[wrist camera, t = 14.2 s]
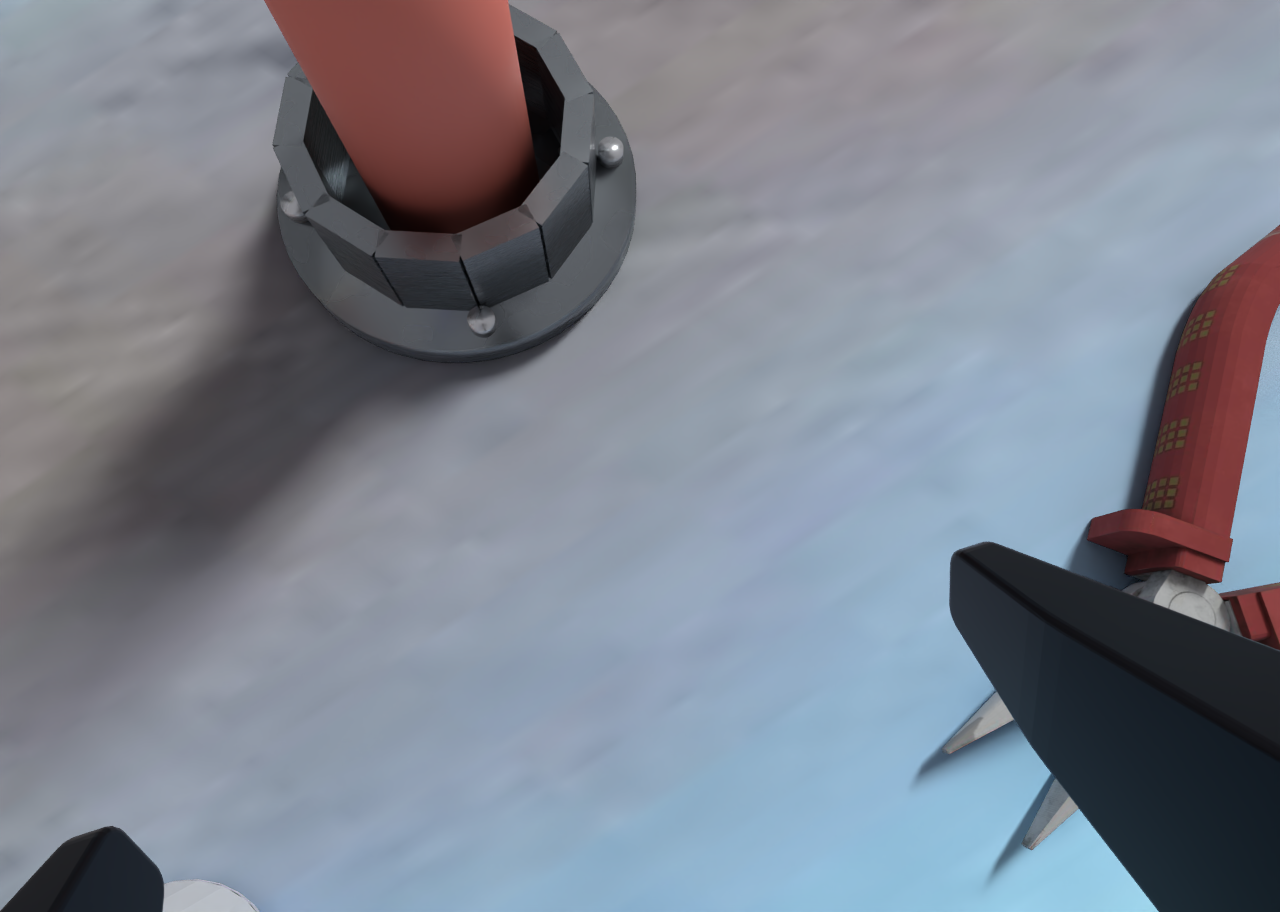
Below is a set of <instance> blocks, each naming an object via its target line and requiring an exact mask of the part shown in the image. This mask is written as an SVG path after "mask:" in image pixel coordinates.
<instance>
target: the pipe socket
mask: <svg viewBox="0 0 1280 912" xmlns="http://www.w3.org/2000/svg"><path fill="white" fill-rule="evenodd" d="M509 10H510V16H511V21H512V27H513V33H514V38H515V44H516V50H517V55H518V61H519V67H520V73H521V78H522V84H523V90H524V95H525V101H526V107H527V112H528V118H529V124H530V130H531V135H532V141H533V147H534V152H535V158H536V164H537V169H538V175H539V183H538V184H537V186H536V187H535V188H534V190H533V191H532V192H531V193H530V195H529V196H528V197H527V199H526V200H525V201H524V202H523V204H522V205H521V206H520V207H517V208H515V209H513V210H510V211H508V212H506V213H503V214H501V215H499V216H497V217H494V218H492V219H490V220H487V221H485V222H483V223H480V224H478V225H476V226H473V227H471V228H469V229H467V230H464V231H462V232H460V233H457V234H447V233H428V232H410V231H391V230H390V228H389V226H388V224H387V223H386V221H385V219H384V217H383V216H382V214H381V212H380V210H379V208H378V207H377V205H376V203H375V201H374V199H373V197H372V196H371V194H370V192H369V190H368V188H367V187H366V185H365V183H364V181H363V179H362V177H361V176H360V174H359V172H358V170H357V168H356V167H355V165H354V163H353V161H352V159H351V157H350V156H349V154H348V152H347V150H346V148H345V147H344V145H343V143H342V141H341V139H340V137H339V136H338V134H337V132H336V130H335V128H334V126H333V125H332V123H331V121H330V119H329V117H328V116H327V114H326V112H325V110H324V108H323V106H322V105H321V103H320V101H319V99H318V97H317V96H316V94H315V92H314V90H313V88H312V86H311V85H310V83H309V81H308V79H307V77H306V76H305V74H304V72H303V70H302V68H301V66H300V65H299V63H297V64H296V65H295V66H294V67H293V68H292V69H291V70H290V72H289V73H288V76H289V77H286V78H285V83H284V89H283V94H282V99H281V104H280V109H279V114H278V119H277V124H276V129H275V135H274V140H273V146H274V148H273V149H274V151H275V154H276V156H277V158H278V160H279V162H280V165H281V170H280V173H279V181H278V190H277V212H278V220H279V225H280V231H281V236H282V239H283V242H284V244H285V247H286V250H287V253H288V255H289V258H290V259H291V261H292V263H293V265H294V267H295V269H296V270H297V272H298V274H299V276H300V277H301V278H302V280H303V281H304V282H305V284H306V285H307V286H308V288H309V289H310V290H311V292H312V293H313V294H314V295H315V296H316V297H317V299H318V300H319V301H320V302H321V303H322V304H323V306H324V307H325V308H326V309H327V310H328V311H329V312H330V313H331V314H332V315H333V316H334V317H335V318H336V319H337V320H338V321H339V322H340V323H342V324H343V325H345V326H346V327H347V328H349V329H350V330H351V331H353V332H354V333H355V334H357V335H358V336H360V337H362V338H364V339H365V340H367V341H369V342H371V343H373V344H375V345H377V346H379V347H381V348H384V349H386V350H389V351H392V352H394V353H397V354H400V355H404V356H408V357H412V358H416V359H420V360H427V361H435V362H444V363H462V362H477V361H484V360H492V359H496V358H500V357H504V356H508V355H512V354H516V353H519V352H521V351H524V350H526V349H529V348H531V347H534V346H537V345H539V344H541V343H543V342H544V341H546V340H548V339H550V338H552V337H554V336H556V335H557V334H559V333H561V332H562V331H563V330H565V329H566V328H568V327H569V326H570V325H572V324H573V323H575V322H576V321H577V320H579V319H580V318H581V317H582V316H583V315H584V314H585V313H586V312H587V311H588V310H589V309H590V308H591V307H593V306H594V305H595V303H596V302H597V301H598V300H599V298H600V297H601V296H602V295H603V294H604V292H605V291H606V290H607V289H608V287H609V286H610V284H611V283H612V281H613V279H614V278H615V276H616V274H617V273H618V271H619V269H620V267H621V265H622V263H623V260H624V258H625V256H626V254H627V251H628V248H629V244H630V241H631V237H632V234H633V228H634V220H635V212H636V172H635V167H634V161H633V155H632V151H631V148H630V145H629V142H628V139H627V136H626V134H625V132H624V130H623V128H622V126H621V124H620V122H619V120H618V118H617V116H616V115H615V113H614V112H613V110H612V109H611V107H610V106H609V104H608V103H607V102H606V100H605V99H604V98H603V97H602V96H601V95H600V94H599V92H598V91H597V90H596V89H595V88H594V87H593V86H592V85H591V84H590V83H589V82H587V80H586V78H585V77H584V75H583V73H582V72H581V70H580V68H579V66H578V65H577V63H576V61H575V60H574V58H573V56H572V55H571V53H570V51H569V49H568V48H567V46H566V44H565V43H564V41H563V39H562V38H561V36H560V34H559V33H558V34H557V31H556V30H554V29H552V28H551V27H549V26H547V25H545V24H543V23H542V22H540V21H538V20H536V19H534V18H533V17H531V16H529V15H527V14H525V13H524V12H522V11H520V10H518V9H516V8H515V7H513V6H511V5H509Z"/></svg>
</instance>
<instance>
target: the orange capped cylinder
mask: <svg viewBox="0 0 1280 912" xmlns="http://www.w3.org/2000/svg"><path fill="white" fill-rule="evenodd" d="M264 1H265V3H266V5H267V6H268V8H269V10H270V12H271V14H272V16H273V17H274V19H275V21H276V23H277V25H278V26H279V28H280V30H281V32H282V34H283V36H284V37H285V39H286V41H287V43H288V45H289V46H290V48H291V50H292V52H293V54H294V56H295V57H296V59H297V61H298V63H299V65H300V66H301V68H302V70H303V72H304V74H305V76H306V77H307V79H308V81H309V83H310V85H311V86H312V88H313V90H314V92H315V94H316V96H317V97H318V99H319V101H320V103H321V105H322V106H323V108H324V110H325V112H326V114H327V116H328V117H329V119H330V121H331V123H332V125H333V126H334V128H335V130H336V132H337V134H338V136H339V137H340V139H341V141H342V143H343V145H344V147H345V148H346V150H347V152H348V154H349V156H350V157H351V159H352V161H353V163H354V165H355V167H356V168H357V170H358V172H359V174H360V176H361V177H362V179H363V181H364V183H365V185H366V187H367V188H368V190H369V192H370V194H371V196H372V197H373V199H374V201H375V203H376V205H377V207H378V208H379V210H380V212H381V214H382V216H383V217H384V219H385V221H386V223H387V224H388V226H389V228H390V230H391V231H410V232H428V233H447V234H457V233H460V232H462V231H464V230H467V229H469V228H471V227H473V226H476V225H478V224H480V223H483V222H485V221H487V220H490V219H492V218H494V217H497V216H499V215H501V214H503V213H506V212H508V211H510V210H513V209H515V208H517V207H520V206H521V205H522V204H523V202H524V201H525V200H526V199H527V197H528V196H529V195H530V193H531V192H532V191H533V190H534V188H535V187H536V186H537V184H538V183H539V175H538V169H537V164H536V158H535V152H534V147H533V141H532V135H531V130H530V124H529V118H528V112H527V107H526V101H525V95H524V90H523V84H522V78H521V73H520V67H519V61H518V55H517V50H516V44H515V38H514V33H513V27H512V21H511V16H510V10H509V4H508V0H264Z"/></svg>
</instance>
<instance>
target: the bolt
mask: <svg viewBox="0 0 1280 912" xmlns="http://www.w3.org/2000/svg"><path fill="white" fill-rule="evenodd" d="M163 912H260V911H259V910H258V909H257V907H256V906H255V905H254V904H253V903H251V902H250V901H249V900H248V899H247V898H245V897H244V896H243V895H242V894H241V893H239V892H237V891H235V890H233V889H231V888H229V887H227V886H225V885H223V884H221V883H216V882H211V881H205V880H200V879H193V880H180V881H172V882H169V883H166V884H164V903H163Z"/></svg>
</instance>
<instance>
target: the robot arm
mask: <svg viewBox="0 0 1280 912" xmlns="http://www.w3.org/2000/svg"><path fill="white" fill-rule="evenodd" d="M949 605H950V612H951V615H952V618H953V621H954V623H955V625H956V627H957V629H958V630H959V632H960V633H961V635H962V637H963V638H964V640H965V642H966V643H967V645H968V646H969V648H970V650H971V651H972V653H973V654H974V656H975V658H976V659H977V661H978V662H979V664H980V666H981V667H982V669H983V670H984V672H985V674H986V675H987V677H988V679H989V680H990V682H991V683H992V685H993V687H994V688H995V690H996V691H997V693H998V695H999V696H1000V698H1001V699H1002V701H1003V703H1004V704H1005V706H1006V708H1007V709H1008V711H1009V712H1010V714H1011V716H1012V717H1013V719H1014V720H1015V722H1016V724H1017V725H1018V727H1019V728H1020V730H1021V731H1022V733H1023V734H1024V736H1025V737H1026V739H1027V740H1028V742H1029V743H1030V745H1031V746H1032V748H1033V749H1034V750H1035V752H1036V753H1037V754H1038V756H1039V757H1040V759H1041V760H1042V761H1043V763H1044V764H1045V765H1046V767H1047V768H1048V769H1049V770H1050V772H1051V773H1052V774H1053V776H1054V777H1055V778H1056V780H1057V781H1058V782H1059V783H1060V785H1061V786H1062V787H1063V789H1064V790H1065V791H1066V792H1067V794H1068V795H1069V796H1070V798H1071V799H1072V800H1073V801H1074V803H1075V804H1076V805H1077V807H1078V808H1079V809H1080V811H1081V812H1082V813H1083V814H1084V816H1085V817H1086V818H1087V820H1088V821H1089V822H1090V823H1091V825H1092V826H1093V827H1094V829H1095V830H1096V831H1097V832H1098V834H1099V835H1100V836H1101V838H1102V839H1103V840H1104V842H1105V843H1106V844H1107V845H1108V847H1109V848H1110V849H1111V851H1112V852H1113V853H1114V854H1115V856H1116V857H1117V858H1118V860H1119V861H1120V862H1121V863H1122V865H1123V866H1124V867H1125V869H1126V870H1127V871H1128V873H1129V874H1130V875H1131V876H1132V878H1133V879H1134V880H1135V882H1136V883H1137V884H1138V885H1139V887H1140V888H1141V889H1142V891H1143V892H1144V893H1145V894H1146V896H1147V897H1148V898H1149V900H1150V901H1151V902H1152V903H1153V905H1154V906H1155V907H1156V909H1157V910H1158V911H1159V912H1280V650H1277V649H1274V648H1272V647H1269V646H1266V645H1264V644H1261V643H1258V642H1256V641H1253V640H1250V639H1248V638H1245V637H1243V636H1240V635H1237V634H1235V633H1232V632H1229V631H1227V630H1224V629H1221V628H1219V627H1216V626H1213V625H1211V624H1208V623H1206V622H1203V621H1200V620H1198V619H1195V618H1192V617H1190V616H1187V615H1184V614H1182V613H1179V612H1176V611H1174V610H1171V609H1169V608H1166V607H1163V606H1161V605H1158V604H1155V603H1153V602H1150V601H1147V600H1145V599H1142V598H1139V597H1137V596H1134V595H1132V594H1129V593H1126V592H1124V591H1121V590H1118V589H1116V588H1113V587H1110V586H1108V585H1105V584H1102V583H1100V582H1097V581H1095V580H1092V579H1089V578H1087V577H1084V576H1081V575H1079V574H1076V573H1073V572H1071V571H1068V570H1065V569H1063V568H1060V567H1058V566H1055V565H1052V564H1050V563H1047V562H1044V561H1042V560H1039V559H1036V558H1034V557H1031V556H1028V555H1026V554H1023V553H1021V552H1018V551H1015V550H1013V549H1010V548H1007V547H1005V546H1002V545H999V544H997V543H993V542H982V543H978V544H975V545H972V546H969V547H966V548H963V549H960V550H957V551H956V552H954V554H953V555H952V557H951V562H950V597H949ZM163 903H164V882H163V878H162V875H161V872H160V870H159V868H158V867H157V866H156V865H155V864H154V863H153V862H152V860H151V859H150V858H149V857H148V856H147V855H146V854H145V853H144V852H143V851H142V850H141V849H140V848H139V847H138V846H137V845H136V844H135V843H134V842H133V840H132V839H131V838H130V837H129V836H128V835H127V834H126V833H125V832H124V831H123V830H121V829H120V828H116V827H113V826H109V827H104V828H100V829H97V830H94V831H91V832H88V833H85V834H82V835H79V836H76V837H73V838H71V839H69V840H67V841H66V842H65V843H63V844H62V845H61V846H60V847H59V848H58V849H57V850H56V851H55V852H54V853H53V854H52V855H51V856H50V858H49V859H48V860H47V861H46V862H45V863H44V864H43V865H42V866H41V867H40V868H39V869H38V871H37V872H36V873H35V874H34V875H33V876H32V877H31V878H30V879H29V880H28V881H27V883H26V884H25V885H24V886H23V887H22V888H21V889H20V890H19V891H18V892H17V893H16V894H15V896H14V897H13V898H12V899H11V900H10V901H9V902H8V903H7V904H6V905H5V906H4V908H3V909H2V910H1V911H0V912H163Z"/></svg>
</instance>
